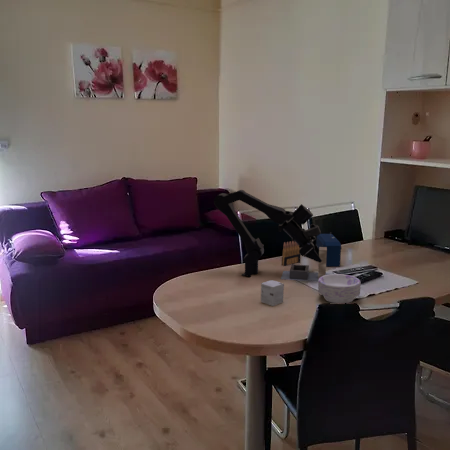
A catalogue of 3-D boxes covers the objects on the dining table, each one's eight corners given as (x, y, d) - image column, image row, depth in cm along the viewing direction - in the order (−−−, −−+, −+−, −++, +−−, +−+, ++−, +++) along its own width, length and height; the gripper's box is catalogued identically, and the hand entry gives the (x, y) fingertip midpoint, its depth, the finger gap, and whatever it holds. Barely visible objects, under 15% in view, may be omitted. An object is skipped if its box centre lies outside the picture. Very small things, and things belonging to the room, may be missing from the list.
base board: (280, 281, 194) (280, 278, 193) (283, 272, 205) (283, 270, 205) (339, 285, 188) (339, 283, 188) (339, 276, 200) (339, 274, 200)
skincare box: (260, 302, 170) (260, 283, 169) (271, 298, 174) (271, 279, 173) (273, 306, 166) (273, 286, 164) (283, 302, 170) (284, 283, 169)
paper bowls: (309, 295, 177) (310, 275, 175) (343, 290, 182) (344, 271, 180) (332, 309, 163) (333, 288, 161) (368, 304, 168) (369, 283, 167)
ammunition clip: (284, 268, 212) (284, 242, 210) (281, 267, 214) (281, 241, 211) (300, 264, 219) (301, 239, 216) (297, 263, 220) (298, 238, 218)
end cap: (289, 278, 194) (289, 270, 193) (291, 272, 203) (291, 264, 202) (307, 279, 192) (307, 271, 192) (308, 273, 201) (308, 265, 201)
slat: (318, 278, 193) (319, 249, 191) (318, 275, 198) (319, 246, 196) (325, 279, 193) (326, 250, 190) (325, 275, 198) (326, 247, 195)
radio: (342, 269, 211) (344, 225, 207) (322, 269, 211) (324, 225, 207) (332, 256, 231) (334, 217, 227) (315, 256, 231) (316, 217, 228)
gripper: (308, 223, 183) (336, 251, 183) (310, 215, 201) (335, 241, 200) (287, 242, 186) (315, 270, 186) (292, 232, 204) (316, 257, 204)
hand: (321, 258), depth 194 cm, fingers open, 9 cm apart
